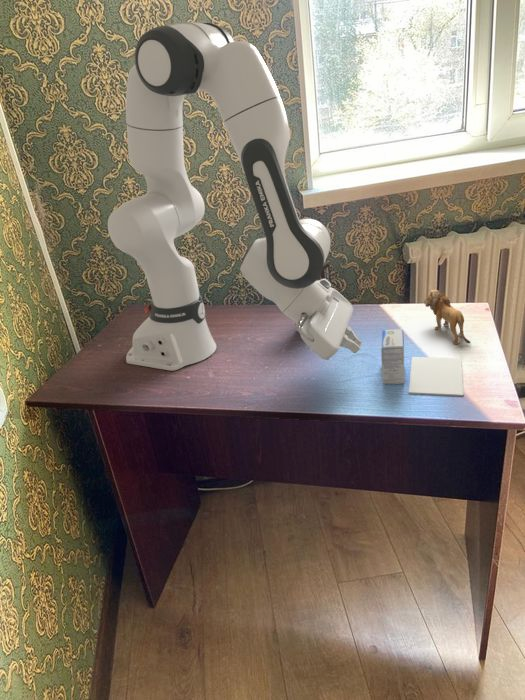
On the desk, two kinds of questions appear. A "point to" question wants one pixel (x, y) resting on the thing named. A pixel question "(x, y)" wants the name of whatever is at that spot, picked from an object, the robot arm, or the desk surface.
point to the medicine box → (392, 356)
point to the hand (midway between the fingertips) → (358, 348)
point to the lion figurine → (445, 313)
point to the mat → (436, 376)
